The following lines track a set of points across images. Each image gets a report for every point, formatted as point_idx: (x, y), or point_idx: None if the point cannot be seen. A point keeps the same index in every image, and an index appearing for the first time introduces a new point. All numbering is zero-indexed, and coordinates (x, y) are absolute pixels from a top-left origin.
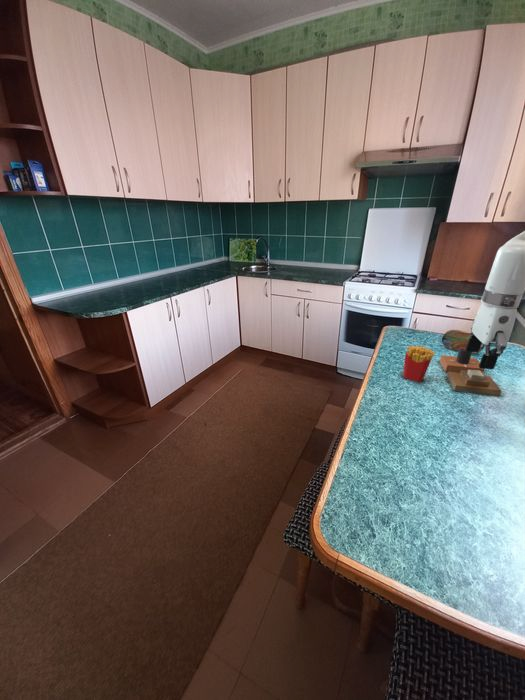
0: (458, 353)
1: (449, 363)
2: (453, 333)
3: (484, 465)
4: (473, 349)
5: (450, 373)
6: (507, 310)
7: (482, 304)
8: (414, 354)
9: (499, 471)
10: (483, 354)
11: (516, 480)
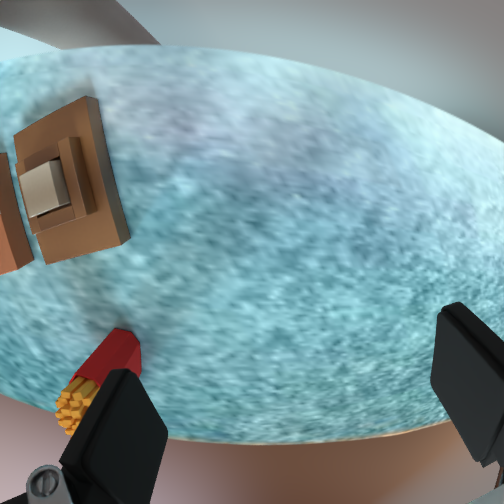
0: None
1: (6, 262)
2: None
3: (474, 195)
4: (144, 416)
5: (53, 258)
6: None
7: None
8: None
9: (480, 167)
10: (486, 460)
11: (489, 140)
